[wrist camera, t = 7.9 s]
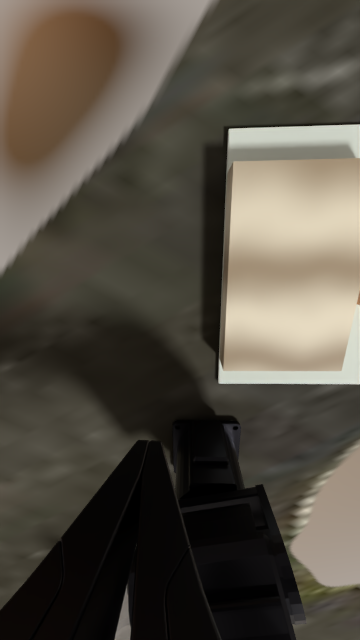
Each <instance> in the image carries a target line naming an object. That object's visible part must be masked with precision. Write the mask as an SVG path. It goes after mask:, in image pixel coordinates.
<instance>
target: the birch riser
mask: <svg viewBox="0 0 360 640" xmlns="http://www.w3.org/2000/svg"><path fill="white" fill-rule="evenodd" d="M359 291H360V158H343V159H307V160H271V161H235V162H233V163H232V165H231V167H230V169H229V171H228V173H227V193H226V217H225V241H224V265H223V289H222V313H221V337H220V362H221V365H222V368H223V371H342V367H343V362H344V358H345V353H346V349H347V345H348V340H349V336H350V331H351V327H352V322H353V318H354V313H355V309H356V305H357V300H358V296H359Z"/></svg>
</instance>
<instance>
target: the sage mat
mask: <svg viewBox="0 0 360 640" xmlns="http://www.w3.org/2000/svg"><path fill="white" fill-rule="evenodd" d="M343 158H360V124H358V125H327V126H296V127H266V128H235V129H229V131H228V147H227V171H226V193H227V173H228V171H229V169H230V167H231V165H232V163H233V162H235V161H271V160H307V159H343ZM225 217H226V196H225ZM224 241H225V220H224ZM223 265H224V245H223ZM222 289H223V269H222ZM221 313H222V294H221ZM220 337H221V318H220ZM218 383H219V384H360V305H358V304H357V305H356V309H355V313H354V318H353V322H352V327H351V331H350V336H349V340H348V345H347V349H346V353H345V358H344V362H343V367H342V371H223V368H222V365H221V362H220V343H219V367H218Z"/></svg>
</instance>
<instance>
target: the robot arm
mask: <svg viewBox="0 0 360 640" xmlns="http://www.w3.org/2000/svg"><path fill="white" fill-rule="evenodd" d="M177 425H178V426H179V427H177ZM234 426H236V427H234ZM240 431H241V427H240V423H239V422H238V421H203V420H176V421H174V422H173V457H174V472H175V473H176V488H174V484H173V481H172V477H171V474H170V470H169V466H168V463H167V459H166V456H165V452H164V448H163V445H162V442H161V441H153V440H152V441H150V442H149V441H148V440H138V441H137V442H136V443H135V444H134V446H133V447H132V448H131V449H130V451H129V452H128V453H127V455H126V456H125V457H124V458H123V460H122V461H121V462H120V463H119V465H118V466H117V467H116V469H115V470H114V471H113V472H112V474H111V475H110V476H109V477H108V479H107V480H106V481H105V482H104V484H103V485H102V486H101V488H100V489H99V490H98V491H97V493H96V494H95V495H94V496H93V498H92V499H91V500H90V502H89V503H88V504H87V505H86V507H85V508H84V509H83V510H82V512H81V513H80V514H79V515H78V517H77V518H76V519H75V521H74V522H73V523H72V524H71V526H70V527H69V528H68V529H67V531H66V532H65V533H64V535H63V536H62V537H61V542H60V541H58V542H57V543H56V544H55V546H54V547H53V548H52V550H51V551H50V552H49V553H48V555H47V556H46V557H45V558H44V560H43V561H42V562H41V563H40V565H39V566H38V567H37V568H36V569H35V571H34V572H33V573H32V574H31V576H30V577H29V578H28V579H27V580H26V582H25V583H24V584H23V585H22V586H21V587H20V588H19V590H18V591H17V592H16V593H15V594H14V595H13V596H12V598H11V599H10V600H9V601H8V602H7V603H6V604H5V605H4V607H3V608H2V609H1V610H0V640H114V639H115V635H116V631H117V626H118V622H119V618H120V613H121V609H122V605H123V600H124V596H125V592H126V587H127V594H128V611H129V621H130V626H131V635H130V640H296V637H295V634H294V630H293V626H292V624H295V625H297V624H306V618H305V614H304V610H303V606H302V602H301V598H300V595H299V591H298V588H297V584H296V581H295V577H294V574H293V571H292V568H291V564H290V561H289V558H288V555H287V552H286V549H285V546H284V543H283V540H282V537H281V534H280V531H279V528H278V526H277V523H276V520H275V517H274V515H273V512H272V509H271V506H270V503H269V501H268V498H267V495H266V492H265V490H264V487H263V484H261V485H255V486H256V487H252V488H246V489H245V487H244V483H243V479H242V475H241V471H240V467H239V462H238V456H239V443H240ZM136 544H137V546H136ZM135 548H136V549H135ZM128 579H129V581H128ZM127 583H128V585H127Z"/></svg>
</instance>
